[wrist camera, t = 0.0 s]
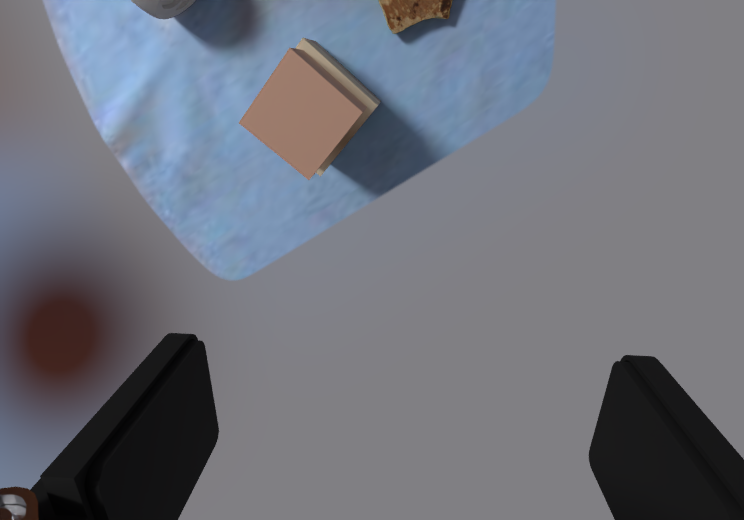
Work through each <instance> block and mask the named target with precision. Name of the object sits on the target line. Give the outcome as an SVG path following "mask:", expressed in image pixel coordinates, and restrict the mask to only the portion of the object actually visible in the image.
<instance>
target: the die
mask: <svg viewBox="0 0 744 520" xmlns="http://www.w3.org/2000/svg"><path fill="white" fill-rule="evenodd" d="M131 1H132V2H133V3H135V4H136V5H137V6H138V7H140V8H141V9H142V10H144V11H145V12H146V13H148V14H150V15H151V16H153V17H156V18H158V19H169V18H172V17H174V16H177V15H178V14H180V13H182V12H183V11H185V10H186V9H187V8H188V7H190V6H191V5H192V4H193V3H194V2H195V1H196V0H131Z"/></svg>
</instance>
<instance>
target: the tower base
mask: <svg viewBox="0 0 744 520" xmlns="http://www.w3.org/2000/svg"><path fill="white" fill-rule="evenodd" d="M295 49H301V50H304V51H305V52H306V53H307V54H308V55H309V56H311V57H312V58H313V59H314V60H315V61H316V62H317V63H318V64H320V65H321V66H322V67H323V68H324V69H325V70H326V71H327V72H329V73H330V74H331V75H332V76H333V77H334V78H335V79H336V80H337V81H339V82H340V83H341V84H342V85H343V86H344V87H345V88H346V89H348V90H349V91H350V92H351V93H352V94H353V95H354V96H355V97H357V98H358V99H359V100H360V101H361V102H362V103H363V104H364V105H366V106H367V108H366V110H365V111H364V112H363V114H362V115H361V116H360V117H359V119H358V120H357V121H356V122H355V124H354V125H353V126H352V127H351V129H350V130H349V131H348V132H347V134H346V135H345V136H344V137H343V139H342V140H341V141H340V142H339V144H338V145H337V146H336V148H335V149H334V150H333V151H332V153H331V154H330V155H329V156H328V158H327V159H326V160H325V161H324V163H323V164H322V165H321V166H320V168H319V169H318V170H317V171H316V173H317V174H318V175H320V176H321V175H322V174H323V173H324V171H325V170H326V169H327V168H328V166H329V165H330V164H331V163H332V162H333V160H334V159H335V158H336V157H337V155H338V154H339V153H340V152H341V150H342V149H343V148H344V147H345V146H346V144H347V143H348V142H349V141H350V139H351V138H352V137H353V136H354V134H355V133H356V132H357V131H358V130H359V128H360V127H361V126H362V125H363V123H364V122H365V121H366V120H367V118H368V117H369V116H370V115H371V114H372V112H373V111H374V110H375V109H376V107H377V106H378V105H379V103H380V102H381V101H380V100H379V99H378V98H377V97H376V96H375V95H374V94H373V93H372V92H371V91H369V90H368V89H367V88H366V87H365V86H364V85H363V84H362V83H361V82H360V81H359V80H357V79H356V78H355V77H354V76H353V75H352V74H351V73H350V72H349V71H348V70H347V69H345V68H344V67H343V66H342V65H341V64H340V63H339V62H338V61H337V60H336V59H334V58H333V57H332V56H331V55H330V54H329V53H328V52H327V51H326V50H325V49H324V48H322V47H321V46H320V45H319V44H318V43H317V42H316V41H313V40H309V39H306V38H302V40H301V41H300V43H299V44H298V45H297V47H296V48H295Z"/></svg>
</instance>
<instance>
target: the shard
mask: <svg viewBox="0 0 744 520" xmlns="http://www.w3.org/2000/svg"><path fill="white" fill-rule="evenodd" d="M379 3H380V6H381V8H382V10H383V13H384V16H385V18H386V21H387V25H388V27H389V29H390V30H391V31H392V33H393V34H396V33H398V32H401V31H403V30H404V29H406V28H407V27H409V26H411V25H414V24H416V23H418V22H420V21H422V20H426V19H430V18H439V19H448V18H449V15H450V8H451V6H452V0H379Z"/></svg>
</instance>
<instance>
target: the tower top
mask: <svg viewBox="0 0 744 520" xmlns="http://www.w3.org/2000/svg"><path fill="white" fill-rule="evenodd" d="M366 108H367V106H366V105H364V104H363V103H362V102H361V101H360V100H359V99H358V98H357V97H355V96H354V95H353V94H352V93H351V92H350V91H349V90H348V89H346V88H345V87H344V86H343V85H342V84H341V83H340V82H339V81H337V80H336V79H335V78H334V77H333V76H332V75H331V74H330V73H329V72H327V71H326V70H325V69H324V68H323V67H322V66H321V65H320V64H318V63H317V62H316V61H315V60H314V59H313V58H312V57H311V56H309V55H308V54H307V53H306V52H305V51H304V50H301V49H294V48H289V50H288V51H287V53H286V54H285V56H284V57H283V59H282V60H281V61H280V63H279V64H278V66H277V67H276V69H275V70H274V72H273V73H272V75H271V76H270V78H269V79H268V81H267V82H266V84H265V85H264V87H263V88H262V89H261V91H260V92H259V94H258V95H257V97H256V98H255V100H254V101H253V103H252V104H251V106H250V107H249V109H248V110H247V112H246V113H245V114H244V116H243V117H242V119H241V120H240V122H239V124H241V125H242V126H243V127H244V128H246V129H247V130H248V131H249V132H251V133H252V134H253V135H254V136H255V137H257V138H258V139H259V140H260V141H262V142H263V143H264V144H265V145H266V146H268V147H269V148H270V149H271V150H273V151H274V152H275V153H276V154H277V155H279V156H280V157H281V158H282V159H284V160H285V161H286V162H287V163H288V164H290V165H291V166H292V167H293V168H295V169H296V170H297V171H298V172H300V173H301V174H302V175H303V176H304V177H306V178H307V179H308V180H310V178H311V177H312V176H313V175H314V174H315V172H316V171H317V170H318V169H319V168H320V166H321V165H322V164H323V163H324V161H325V160H326V159H327V158H328V156H329V155H330V154H331V153H332V151H333V150H334V149H335V148H336V146H337V145H338V144H339V142H340V141H341V140H342V139H343V137H344V136H345V135H346V134H347V132H348V131H349V130H350V129H351V127H352V126H353V125H354V124H355V122H356V121H357V120H358V119H359V117H360V116H361V115H362V114H363V112H364V111H365V110H366Z"/></svg>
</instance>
